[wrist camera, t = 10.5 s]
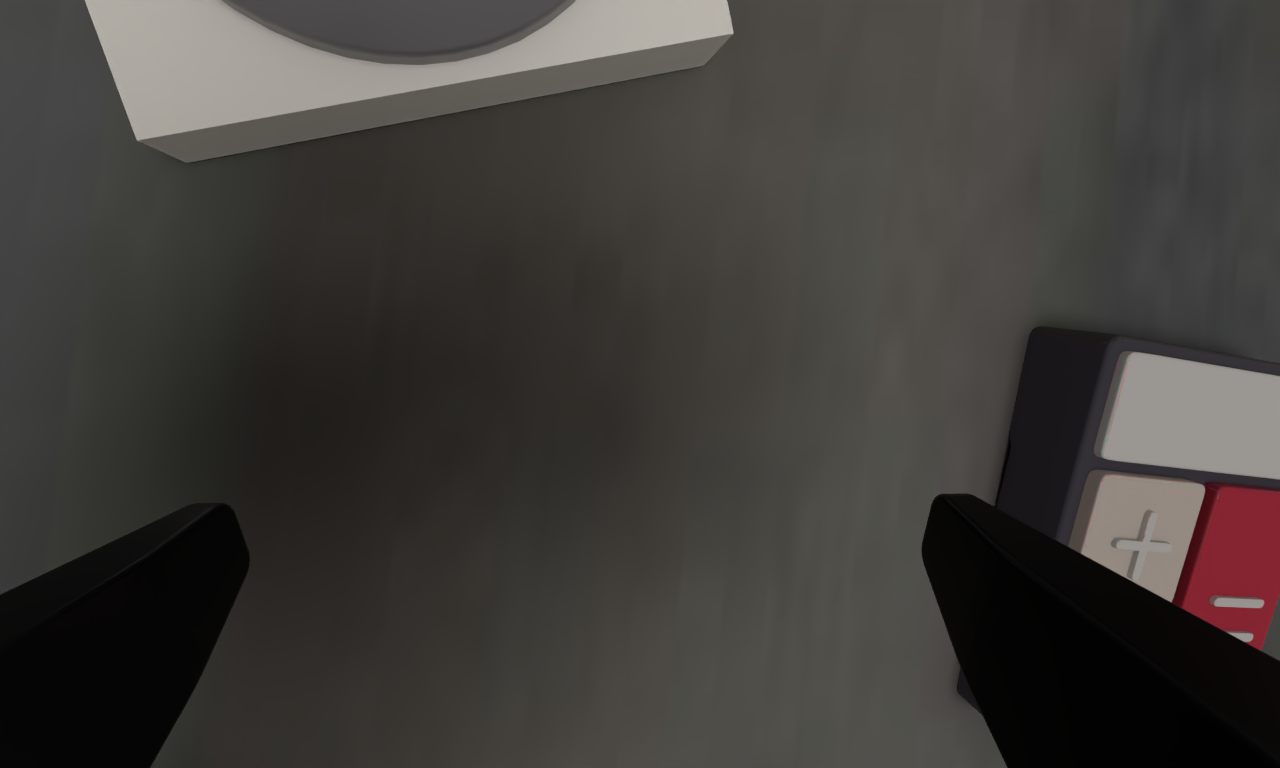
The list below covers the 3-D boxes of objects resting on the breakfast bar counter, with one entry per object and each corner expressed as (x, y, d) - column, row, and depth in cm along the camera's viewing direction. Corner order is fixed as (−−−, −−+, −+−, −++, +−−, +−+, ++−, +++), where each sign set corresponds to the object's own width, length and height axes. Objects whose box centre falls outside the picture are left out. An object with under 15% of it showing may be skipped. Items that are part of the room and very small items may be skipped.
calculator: (1020, 757, 22) (1135, 335, 20) (937, 681, 26) (1026, 323, 24) (1246, 750, 25) (1369, 377, 23) (1139, 681, 29) (1235, 360, 27)
